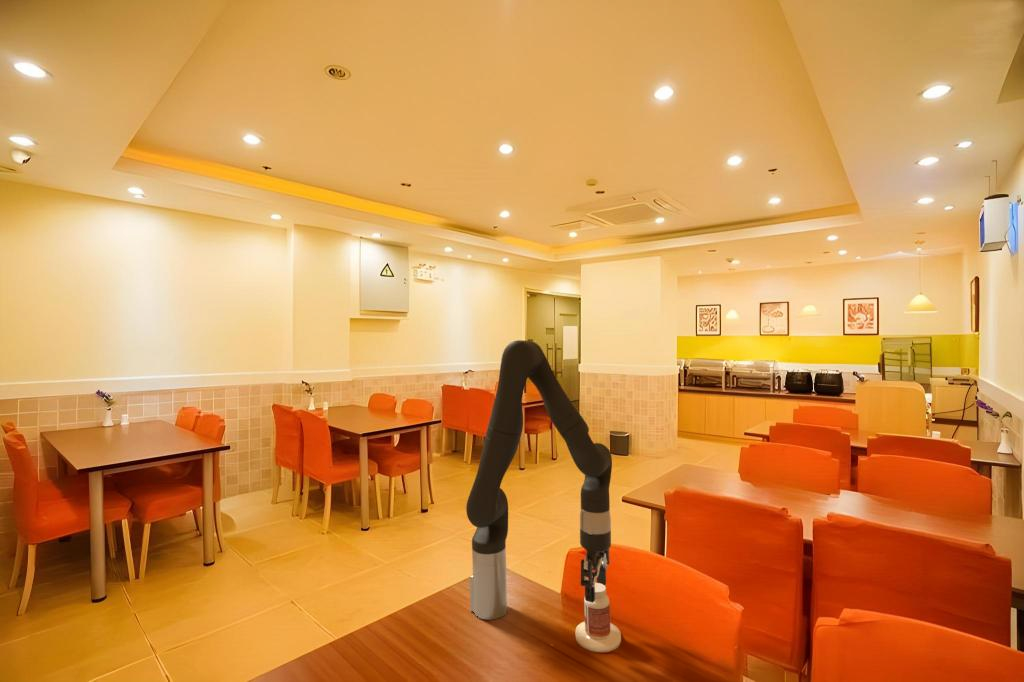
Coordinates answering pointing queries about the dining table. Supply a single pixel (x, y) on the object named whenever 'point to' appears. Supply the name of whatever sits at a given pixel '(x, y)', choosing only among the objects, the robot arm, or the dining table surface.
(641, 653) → the dining table surface
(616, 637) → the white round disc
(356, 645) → the dining table surface
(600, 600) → the pill bottle
